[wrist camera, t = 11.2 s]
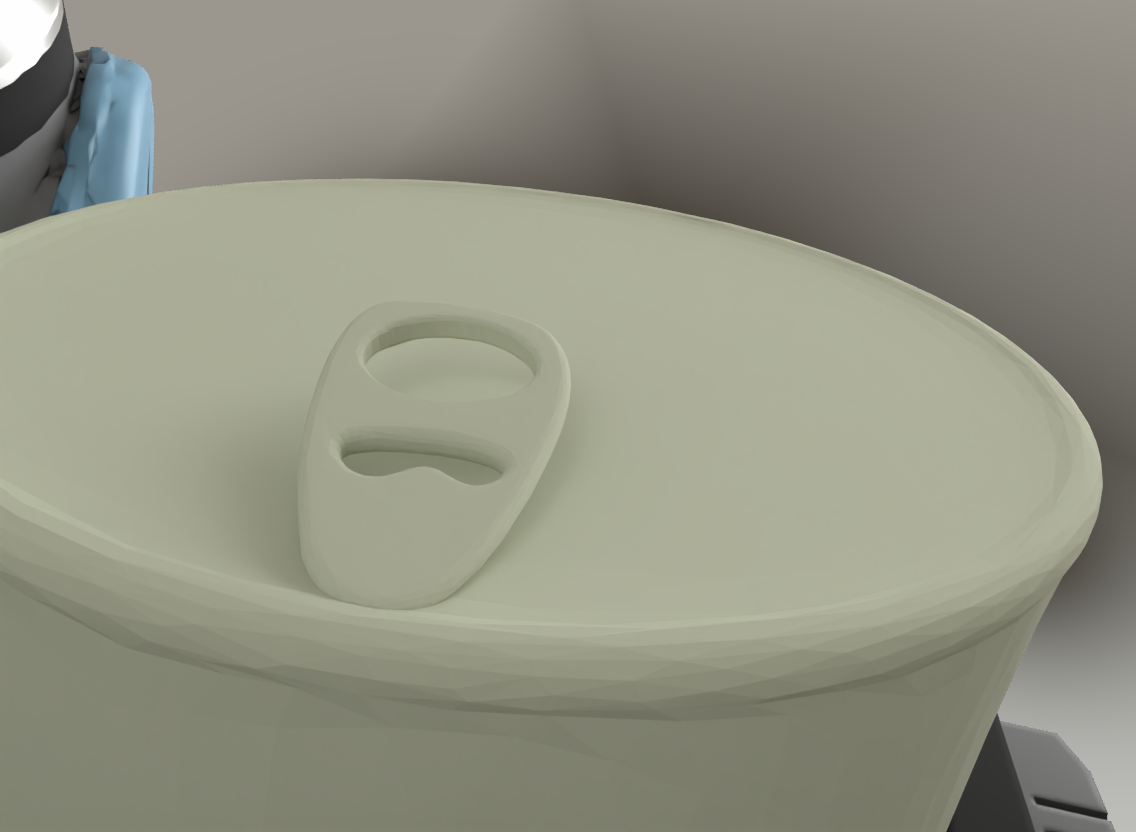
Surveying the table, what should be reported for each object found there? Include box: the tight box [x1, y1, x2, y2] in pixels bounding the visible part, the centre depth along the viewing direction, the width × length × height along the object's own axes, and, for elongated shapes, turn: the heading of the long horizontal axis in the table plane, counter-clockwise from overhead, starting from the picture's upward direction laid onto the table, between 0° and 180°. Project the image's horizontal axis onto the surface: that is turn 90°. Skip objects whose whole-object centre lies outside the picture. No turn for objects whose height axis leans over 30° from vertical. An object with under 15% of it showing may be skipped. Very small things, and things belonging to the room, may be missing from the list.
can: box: [0, 179, 1103, 832], centre depth 10 cm, size 9×9×12 cm
